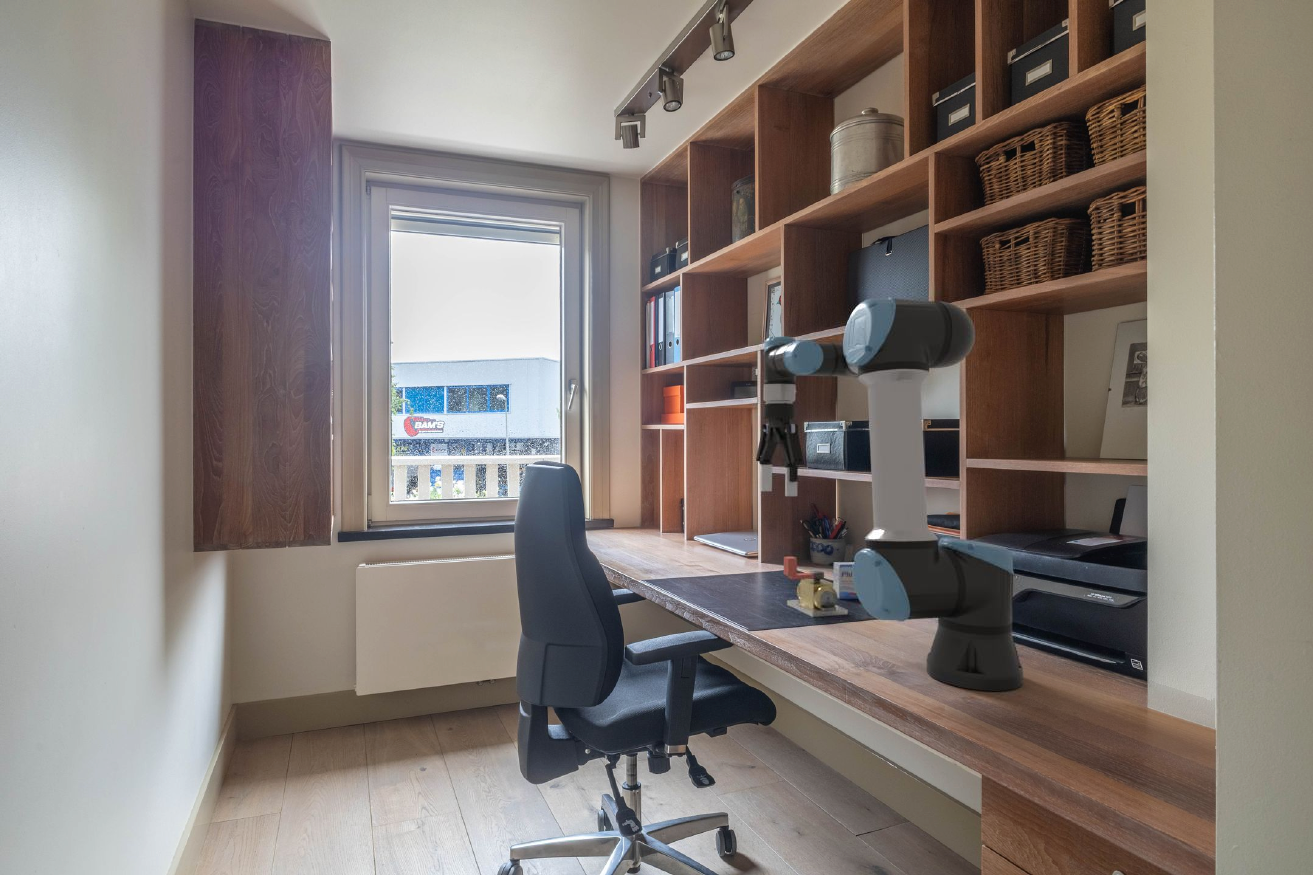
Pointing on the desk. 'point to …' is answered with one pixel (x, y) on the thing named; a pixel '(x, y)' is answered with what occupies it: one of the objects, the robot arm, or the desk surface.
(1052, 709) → the desk surface
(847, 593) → the medicine box
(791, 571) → the lever
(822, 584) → the valve fixture
